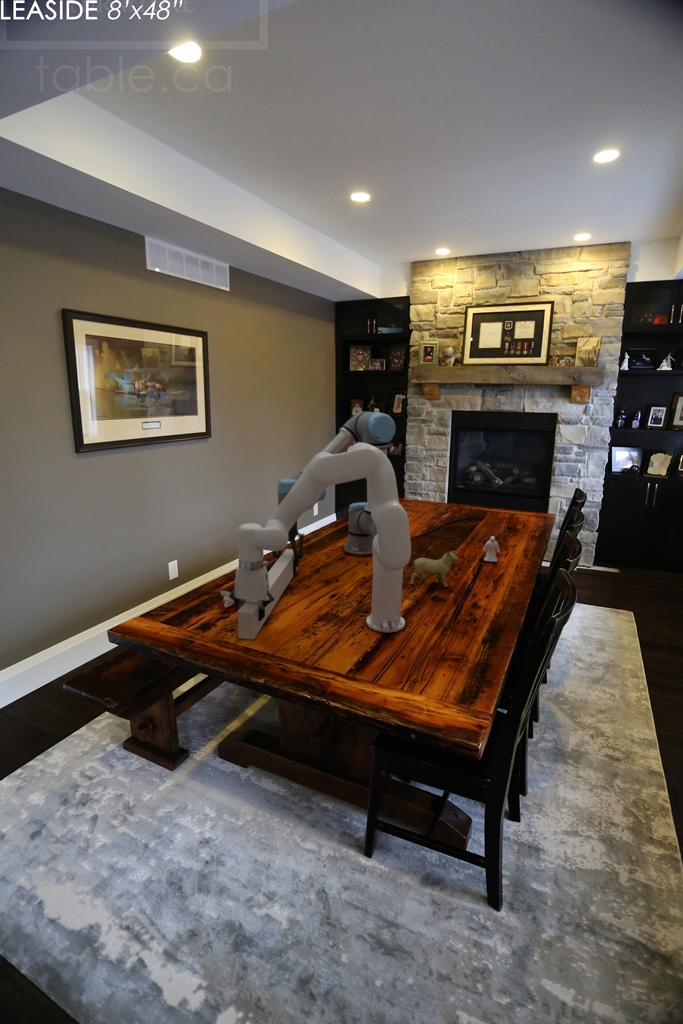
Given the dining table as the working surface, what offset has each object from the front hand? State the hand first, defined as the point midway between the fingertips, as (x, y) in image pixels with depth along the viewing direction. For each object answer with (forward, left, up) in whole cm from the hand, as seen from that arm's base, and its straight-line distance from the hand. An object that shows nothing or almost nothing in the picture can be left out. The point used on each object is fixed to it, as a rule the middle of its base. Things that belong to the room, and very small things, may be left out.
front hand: (252, 618), depth 157 cm
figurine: (+61, -100, -4) cm, 117 cm away
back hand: (+46, -10, -3) cm, 47 cm away
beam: (+23, -5, -4) cm, 24 cm away
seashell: (+18, +9, -4) cm, 20 cm away
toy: (+34, -67, -4) cm, 75 cm away
